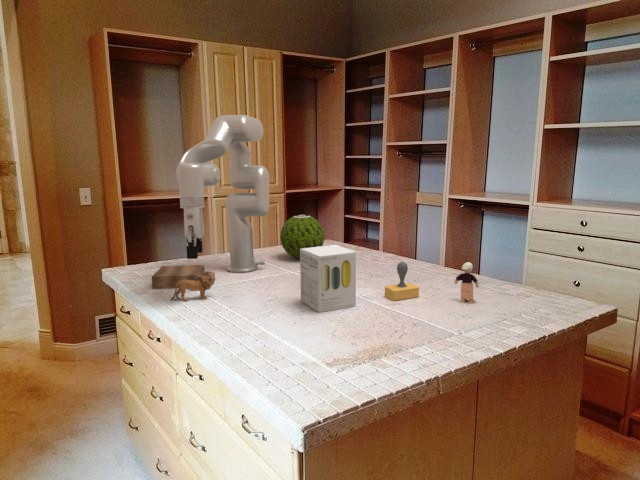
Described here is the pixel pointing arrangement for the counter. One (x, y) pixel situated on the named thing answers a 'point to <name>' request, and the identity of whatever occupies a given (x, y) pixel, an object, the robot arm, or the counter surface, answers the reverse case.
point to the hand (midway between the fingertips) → (195, 255)
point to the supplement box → (328, 277)
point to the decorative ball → (301, 234)
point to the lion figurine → (195, 285)
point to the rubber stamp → (401, 286)
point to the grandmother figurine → (467, 283)
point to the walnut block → (175, 275)
